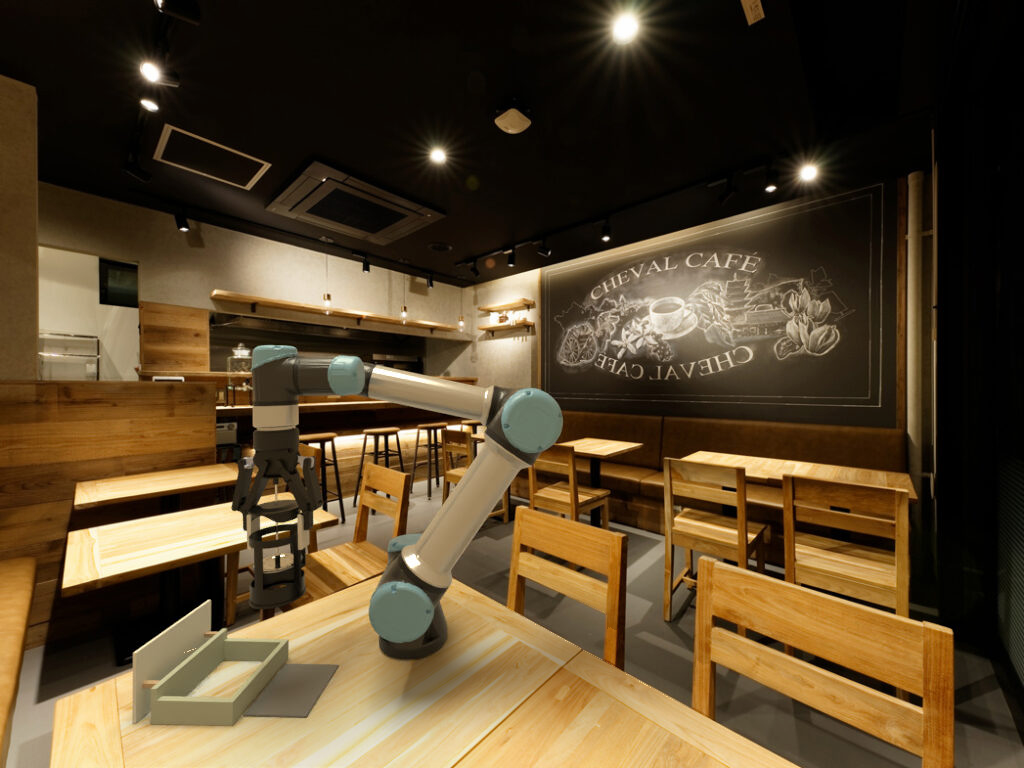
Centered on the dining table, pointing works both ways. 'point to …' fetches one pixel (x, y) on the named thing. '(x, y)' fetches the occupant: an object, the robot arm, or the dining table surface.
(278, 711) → the plate
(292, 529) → the french press
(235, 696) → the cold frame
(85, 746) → the dining table surface
